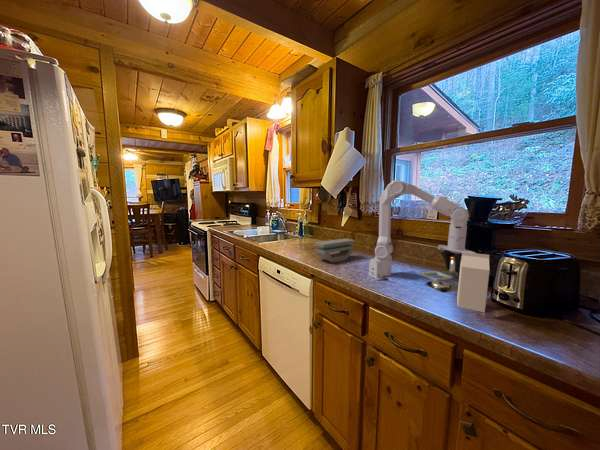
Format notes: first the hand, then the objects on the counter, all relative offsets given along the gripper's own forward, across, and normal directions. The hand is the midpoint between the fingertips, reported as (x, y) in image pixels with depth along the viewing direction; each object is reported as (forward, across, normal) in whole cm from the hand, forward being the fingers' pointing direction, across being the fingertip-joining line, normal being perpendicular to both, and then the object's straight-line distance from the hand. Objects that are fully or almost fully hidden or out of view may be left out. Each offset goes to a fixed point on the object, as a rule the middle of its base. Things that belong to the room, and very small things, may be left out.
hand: (453, 270), depth 96 cm
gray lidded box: (+8, +54, +25) cm, 60 cm away
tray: (+8, +10, -3) cm, 13 cm away
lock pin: (+2, 0, 0) cm, 2 cm away
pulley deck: (+8, 0, +3) cm, 8 cm away
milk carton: (+8, -15, +10) cm, 20 cm away
